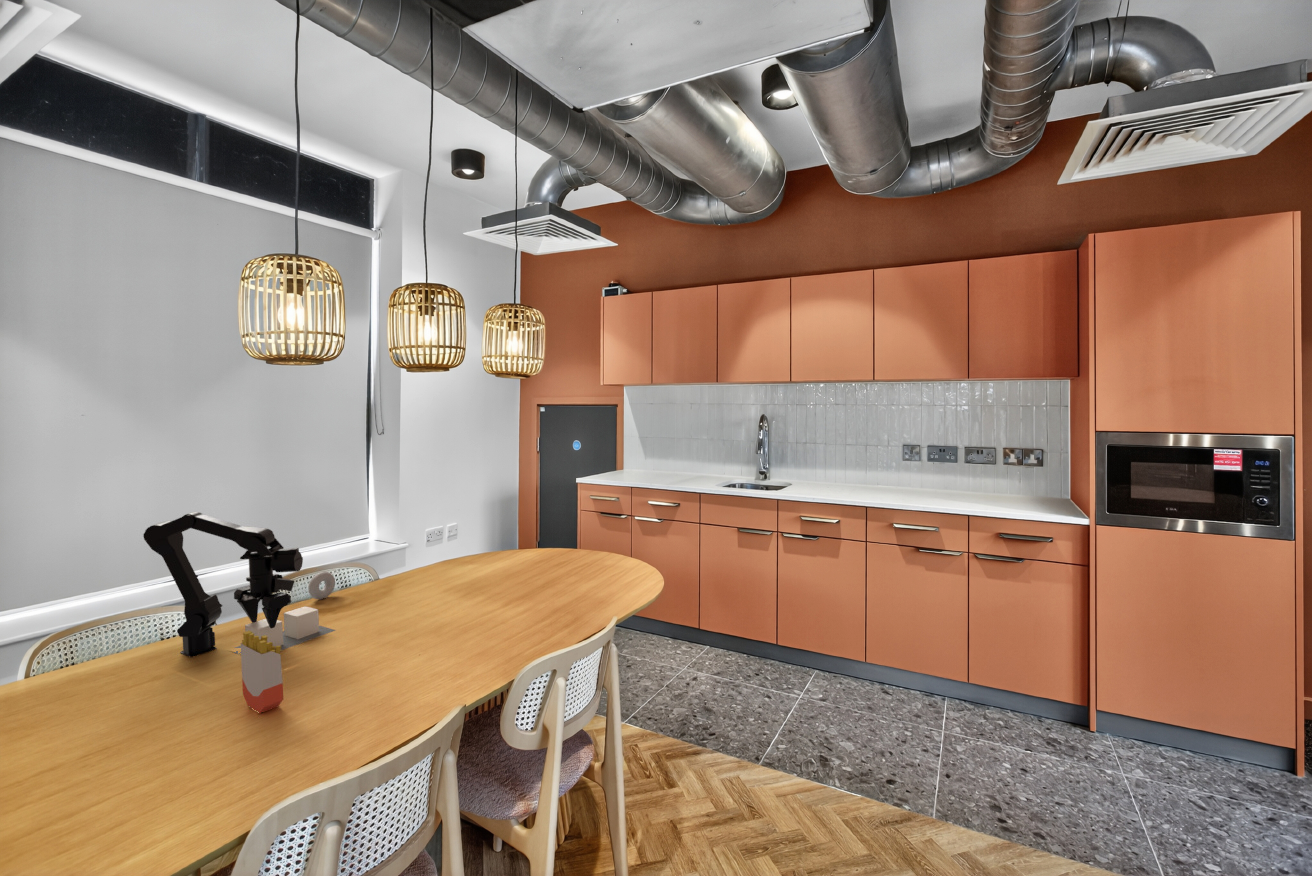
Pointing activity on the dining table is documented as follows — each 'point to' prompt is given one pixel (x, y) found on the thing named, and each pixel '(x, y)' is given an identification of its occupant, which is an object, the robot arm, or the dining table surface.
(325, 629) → the mat
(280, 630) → the white cube
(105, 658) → the dining table surface
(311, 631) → the closed white box
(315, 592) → the donut
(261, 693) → the french fries container
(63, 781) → the dining table surface
